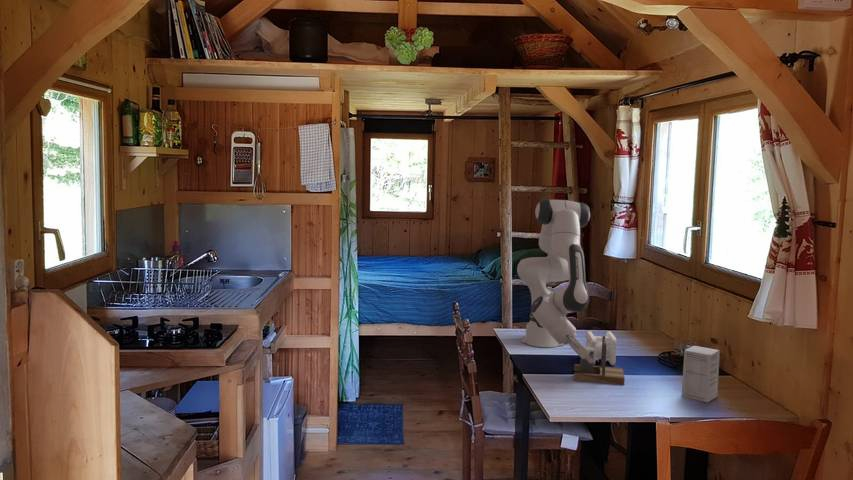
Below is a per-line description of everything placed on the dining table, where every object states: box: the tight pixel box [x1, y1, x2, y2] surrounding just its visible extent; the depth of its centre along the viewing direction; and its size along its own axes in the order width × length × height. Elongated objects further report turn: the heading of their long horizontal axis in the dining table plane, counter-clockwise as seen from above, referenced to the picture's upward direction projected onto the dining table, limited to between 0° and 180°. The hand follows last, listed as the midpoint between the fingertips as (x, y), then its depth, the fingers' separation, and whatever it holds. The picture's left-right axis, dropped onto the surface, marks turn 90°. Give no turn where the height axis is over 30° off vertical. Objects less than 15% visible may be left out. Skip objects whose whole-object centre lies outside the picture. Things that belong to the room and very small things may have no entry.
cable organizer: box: [584, 330, 617, 366], centre depth 280 cm, size 15×11×12 cm
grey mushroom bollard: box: [578, 346, 595, 374], centre depth 261 cm, size 6×6×11 cm
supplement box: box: [681, 345, 721, 403], centre depth 240 cm, size 10×9×17 cm
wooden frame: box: [573, 335, 625, 386], centre depth 260 cm, size 13×18×14 cm
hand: (588, 358), depth 261 cm, fingers open, 8 cm apart
